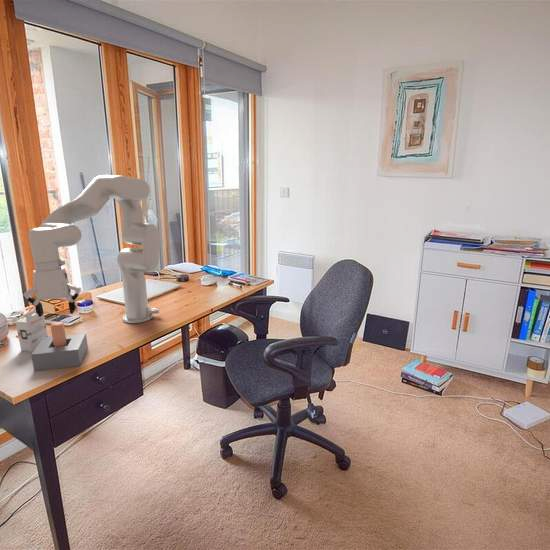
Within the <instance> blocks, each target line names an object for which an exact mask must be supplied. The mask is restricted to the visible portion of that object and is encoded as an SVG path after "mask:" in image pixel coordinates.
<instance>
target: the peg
mask: <svg viewBox="0 0 550 550" xmlns="http://www.w3.org/2000/svg"><path fill="white" fill-rule="evenodd" d="M65 328H66V327H65V323H64V322H63V321H59V322H57V321H56V322H53V323H51V324H50V331H51V336H52V338H53V344H54V347H60V346H67V341H66V335H67V334H66V329H65Z"/></svg>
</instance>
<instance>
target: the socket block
mask: <svg viewBox="0 0 550 550" xmlns="http://www.w3.org/2000/svg"><path fill="white" fill-rule="evenodd" d="M65 335H66V341H67V346H60V347H54V344H53V338H52V335H51V336H49V335H48V337H43V339H42V340H41V341H40V343H39V344H38V346H37V347H36V348H35V350H34V351H33V352H31V353H30V357H31V361H32V368H33V372H38V371H45V370H46V371H47V370H52V369H55V370H56V369H63V368H64V367H65V368H71V367H78V366H79V367H80V366H81V365H82V362H83V360H84V358H85V356H86V353H87V352H88V348H89V345H88V339H87V338H88V337H87V333H86V332H83V333H82V332H80V333H72V334H65Z"/></svg>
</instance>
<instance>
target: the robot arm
mask: <svg viewBox="0 0 550 550" xmlns="http://www.w3.org/2000/svg"><path fill="white" fill-rule="evenodd" d="M150 193H151V188H150V185H149V183H148V182H147V181H146V180H144V179H142V178H136V177H131V176H125V175H124V176H123V175H115V174H114V175H112V174H111V175H109V174H105V175H104V174H103V175H98V176H96V177H94V178H93V179H92V180H91V181H90V183H89V184H88V185H87V186H86V187H85V188H84V189H83V190H82V192H81V193H80V194H78V196H77V197H76V198H75V199H73V200H70V201H69V202H67V203H65V204H64V205H61V206H60V207H58V208H57V209H55V210H54V211H52V212H50V214H48V216H47V217H46V218H44V220H43V221H42V222H41V224H40V225H39V226H38V227H34V228H31V229H29V230H28V241H29V245H30V251H31V255H32V259H33V266H34V270H33V273H32V279H33V282H32V284H33V285H32V286H33V287H32V288H30V289H28V290H26V291H25V292H24V293H23V294H22V295H23V297H24V298H25V299H26V300H27V302H29V303H30V304H32V305H33V306H34V309H36V312H35V313H37V314H38V316H39V317H41V316H42V315H43V314H44V309H43V304H42V302H41V301H46V300H56V299H59V300H60V299H66V300H67V301H68V309H69V314H71V315H73V314H74V312H75V311H76V309H77V308H76V303H75V300H76V299H77V298H78V297H79V295H80V293H81V292H82V291H81V290H82V287H79V286H78V285H74V284H71V283H70V279H69V277H68V274H67V271H66V268H65V267H64V266H66V260H62V259H61V258H60V253H59V249H60V248H64V247H65V248H66V247H72V246H76V245H78V243H80V241H81V239H82V230H81V229H80V228H79V227H78V226H76V225H74V223H77V222H81V221H83V220H88V219H90V218H93V217H95V216H97V214H99V212H100V211H101V210H102V208H103V207H104V206H105V205H106V204H107V203H108V201H109V200H111V199H114V200H116V202H117V203H118V205H119V207H120V209H121V239H122V241H123V242H124V243H125V244H128V245H134V246H142V248H140V247H139V248H138V247H125V248H122V249H120V251H119V252H118V253H117V257H116V259H117V260H116V261H117V265H118V268H119V271H120V275H121V282H122V290H123V297H124V298H123V299H124V309H125V314H124V315H123V316H122V321H123V322H125V323H126V324H140V323H144V322H147V321H150V320H152V319H153V316H154V315H153V314H160V309H158V308H156V307H153V308H151V307H150V305H149V301H148V291H147V281H146V276H145V274H144V273H152V272H154V271H156V270H157V269H158V266H159V264H160V248H161V247H160V246H161V235H160V231H159V229H158V227H157V226H156V225H155V224H154V223H152V222H151V223H150V222H144V208H143V206H142V204H141V203H140V202H143V201H145V200H147V199H148V198H149V196H150ZM72 291H75V292H74V294H73V293H72ZM33 293H34V297H33V296H32V295H31V294H33ZM71 293H72V294H71Z"/></svg>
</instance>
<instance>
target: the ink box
mask: <svg viewBox="0 0 550 550" xmlns="http://www.w3.org/2000/svg"><path fill="white" fill-rule="evenodd" d="M45 319H46V318H45V314H44V313H43V315H42V316H41V317H39V316H38V314H37V313H36V308H34V309H33V310H31V311H28V312H26V313H25V316H24V317H22V318H19V319H18V320H16V321H15V328H16V331H17V337H18V342H19V347H20V351H21V352H30V353H33V351H34V350H35V348H36V347H37V346H38V344H39V343H40V341H41V340H42V339H43V337H49V335H48V330H47V324H46V320H45Z"/></svg>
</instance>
